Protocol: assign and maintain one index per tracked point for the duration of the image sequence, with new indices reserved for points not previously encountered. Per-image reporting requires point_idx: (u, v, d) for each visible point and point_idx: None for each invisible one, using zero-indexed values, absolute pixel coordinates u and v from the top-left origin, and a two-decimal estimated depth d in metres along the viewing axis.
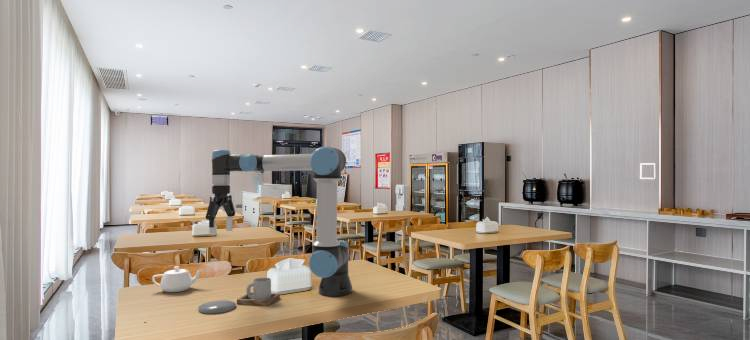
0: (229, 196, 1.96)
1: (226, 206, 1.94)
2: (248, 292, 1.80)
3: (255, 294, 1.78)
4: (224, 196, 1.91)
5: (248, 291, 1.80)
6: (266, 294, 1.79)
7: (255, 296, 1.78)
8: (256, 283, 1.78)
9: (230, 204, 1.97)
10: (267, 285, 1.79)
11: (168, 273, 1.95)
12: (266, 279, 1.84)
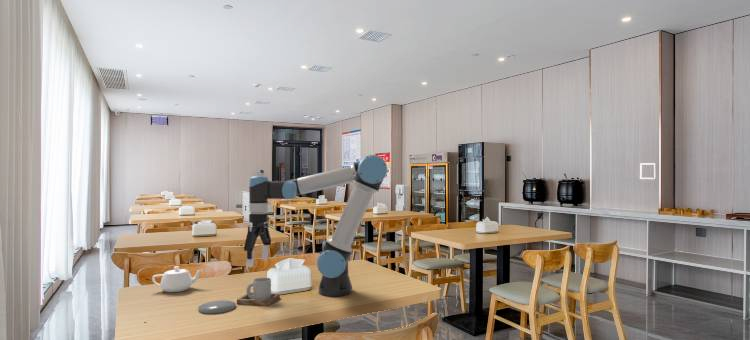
0: (265, 224, 1.86)
1: (263, 235, 1.84)
2: (248, 292, 1.80)
3: (255, 294, 1.78)
4: (261, 225, 1.82)
5: (248, 291, 1.80)
6: (266, 294, 1.79)
7: (255, 296, 1.78)
8: (256, 283, 1.78)
9: (266, 232, 1.88)
10: (267, 285, 1.79)
11: (168, 273, 1.95)
12: (266, 279, 1.84)
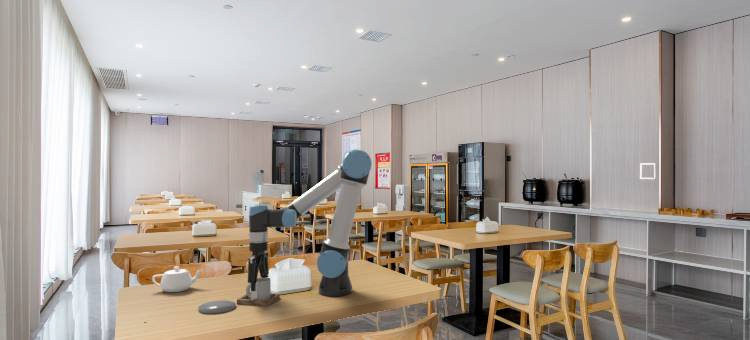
0: (266, 253, 1.86)
1: (262, 264, 1.83)
2: (248, 292, 1.79)
3: None
4: (262, 251, 1.82)
5: (248, 291, 1.79)
6: (266, 294, 1.78)
7: None
8: None
9: (265, 262, 1.86)
10: (267, 285, 1.79)
11: (168, 273, 1.95)
12: (265, 279, 1.84)
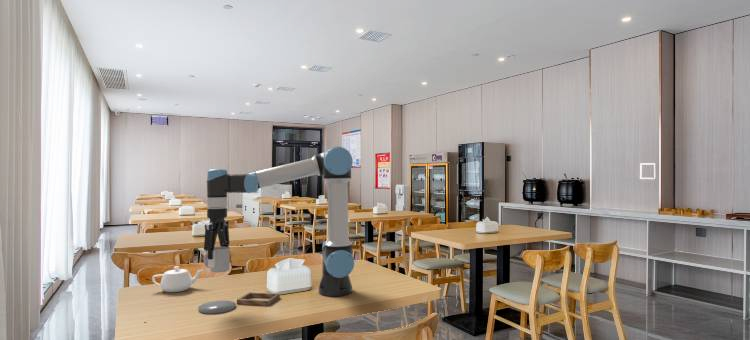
0: (226, 222, 1.77)
1: (221, 233, 1.74)
2: (205, 261, 1.70)
3: None
4: (221, 218, 1.73)
5: (205, 260, 1.70)
6: (224, 263, 1.69)
7: None
8: None
9: (225, 231, 1.77)
10: (225, 253, 1.69)
11: (168, 273, 1.95)
12: (225, 248, 1.75)
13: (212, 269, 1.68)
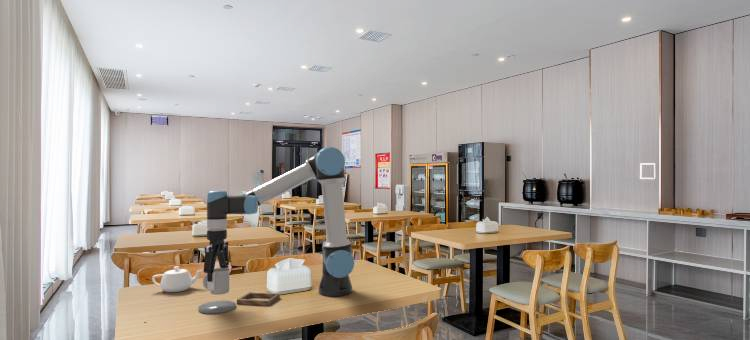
0: (226, 243, 1.77)
1: (221, 254, 1.74)
2: (204, 283, 1.70)
3: None
4: (221, 240, 1.73)
5: (204, 282, 1.70)
6: (223, 285, 1.69)
7: None
8: None
9: (225, 252, 1.77)
10: (225, 275, 1.69)
11: (168, 273, 1.95)
12: (225, 269, 1.74)
13: (212, 291, 1.68)
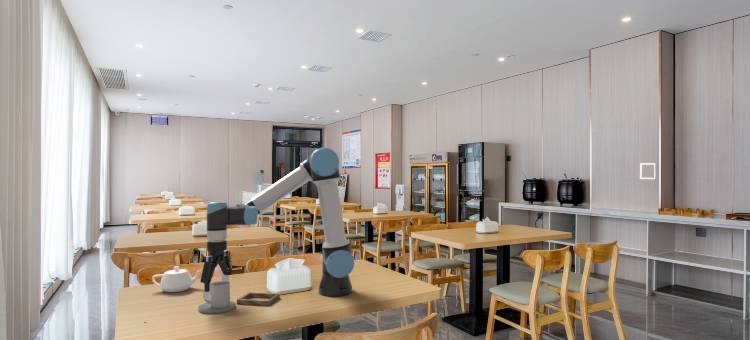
0: (226, 252, 1.77)
1: (222, 264, 1.74)
2: None
3: (212, 299, 1.68)
4: (220, 252, 1.72)
5: None
6: (224, 298, 1.69)
7: (212, 301, 1.68)
8: (213, 287, 1.68)
9: (227, 261, 1.78)
10: (225, 289, 1.69)
11: (168, 273, 1.95)
12: (225, 283, 1.74)
13: (212, 305, 1.68)
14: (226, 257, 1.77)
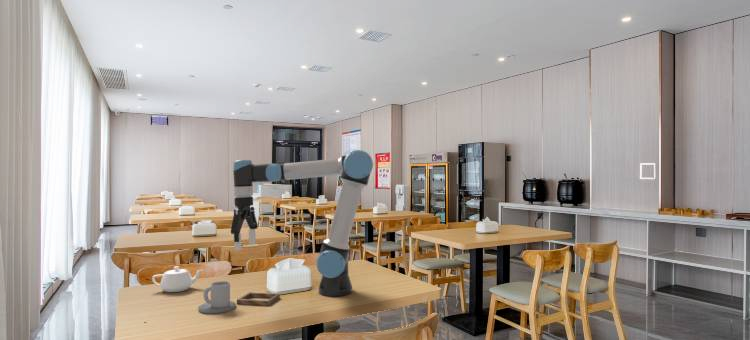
0: (251, 208, 1.87)
1: (249, 218, 1.85)
2: (205, 297, 1.70)
3: (212, 299, 1.68)
4: (247, 208, 1.82)
5: (205, 295, 1.70)
6: (224, 298, 1.69)
7: (212, 301, 1.68)
8: (213, 287, 1.68)
9: (252, 216, 1.88)
10: (225, 289, 1.69)
11: (168, 273, 1.95)
12: (225, 283, 1.74)
13: (212, 305, 1.68)
14: (252, 213, 1.88)
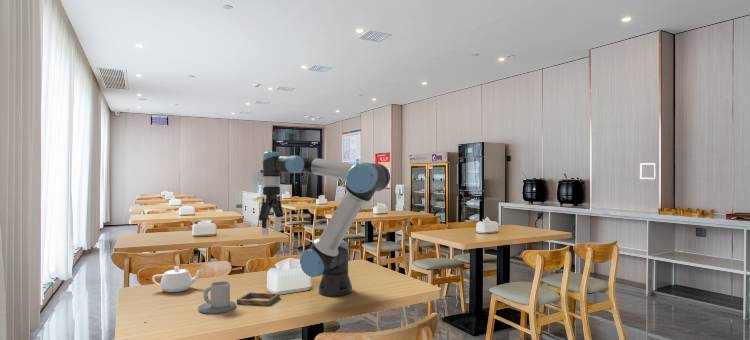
0: (278, 197, 1.99)
1: (276, 207, 1.97)
2: (205, 297, 1.70)
3: (212, 299, 1.68)
4: (274, 197, 1.95)
5: (205, 296, 1.70)
6: (224, 298, 1.69)
7: (212, 301, 1.68)
8: (213, 287, 1.68)
9: (279, 205, 2.00)
10: (225, 289, 1.69)
11: (168, 273, 1.95)
12: (225, 283, 1.74)
13: (212, 305, 1.68)
14: (278, 202, 2.00)
